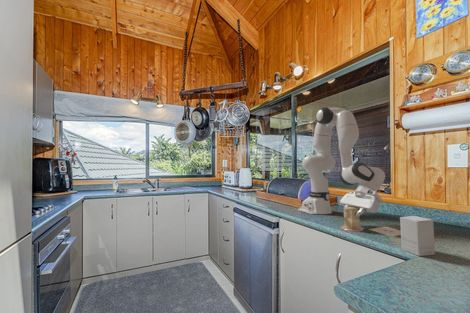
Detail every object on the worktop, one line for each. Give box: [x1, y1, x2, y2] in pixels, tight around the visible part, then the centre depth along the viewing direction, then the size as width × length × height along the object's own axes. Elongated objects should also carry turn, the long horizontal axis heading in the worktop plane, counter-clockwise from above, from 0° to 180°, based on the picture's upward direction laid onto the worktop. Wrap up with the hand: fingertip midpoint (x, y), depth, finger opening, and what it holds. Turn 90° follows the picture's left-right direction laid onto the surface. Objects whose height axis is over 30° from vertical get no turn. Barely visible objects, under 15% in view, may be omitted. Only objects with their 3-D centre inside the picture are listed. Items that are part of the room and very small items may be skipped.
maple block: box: [343, 207, 361, 230], centre depth 117 cm, size 5×5×10 cm
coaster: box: [340, 225, 364, 233], centre depth 117 cm, size 10×10×1 cm
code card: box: [368, 226, 401, 237], centre depth 111 cm, size 12×12×1 cm
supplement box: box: [399, 215, 436, 257], centre depth 87 cm, size 7×7×13 cm
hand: (350, 214), depth 117 cm, fingers open, 5 cm apart
